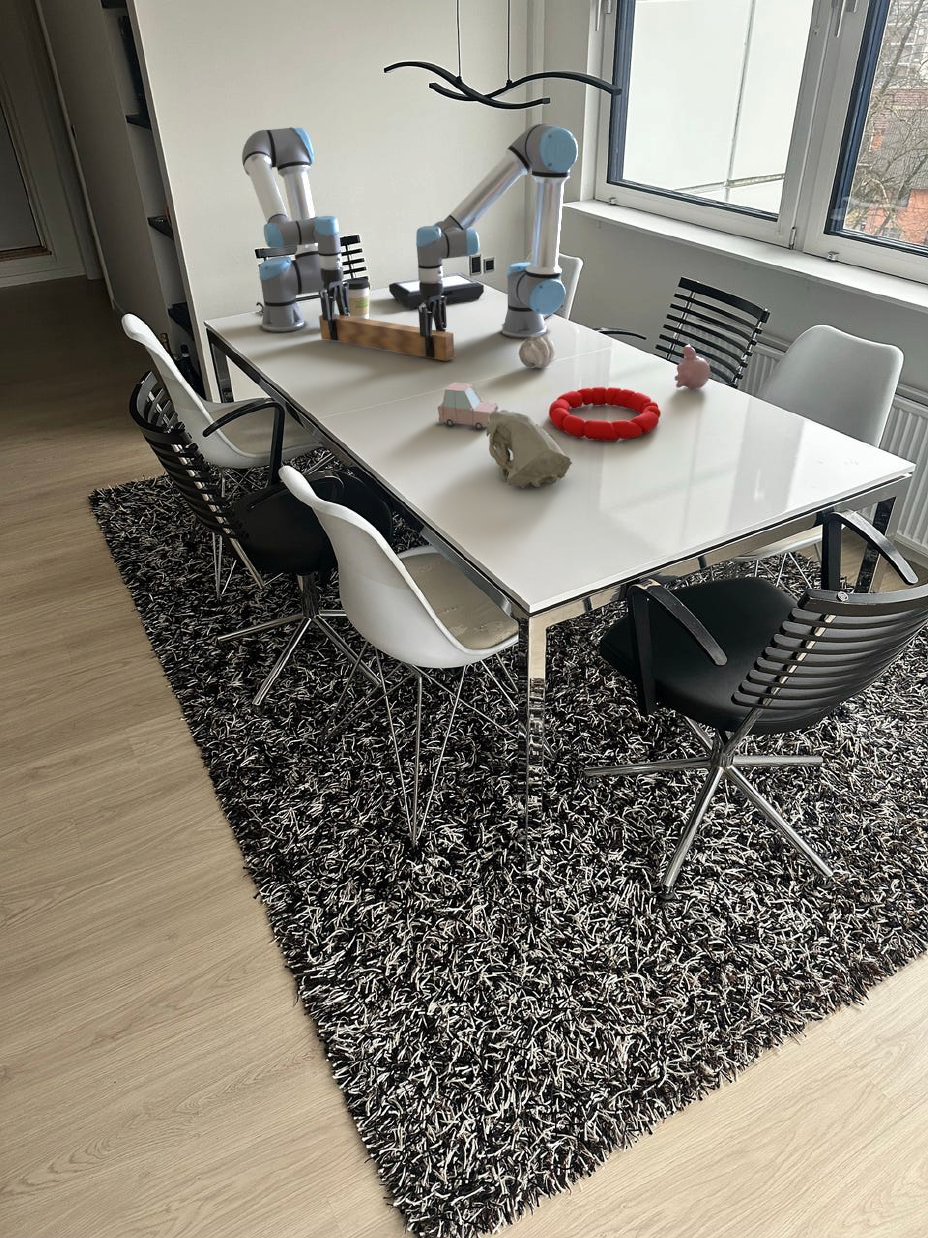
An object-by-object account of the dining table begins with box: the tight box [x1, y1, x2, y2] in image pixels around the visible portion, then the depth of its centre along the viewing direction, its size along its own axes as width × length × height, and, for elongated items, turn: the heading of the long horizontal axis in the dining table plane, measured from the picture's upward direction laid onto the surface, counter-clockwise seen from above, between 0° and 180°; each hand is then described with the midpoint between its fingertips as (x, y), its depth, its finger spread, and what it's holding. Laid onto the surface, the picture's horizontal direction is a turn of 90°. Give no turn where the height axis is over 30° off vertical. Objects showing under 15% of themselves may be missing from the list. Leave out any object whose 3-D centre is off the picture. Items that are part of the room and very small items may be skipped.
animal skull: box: [485, 409, 573, 489], centre depth 216 cm, size 17×25×20 cm
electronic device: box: [388, 273, 485, 310], centre depth 349 cm, size 32×6×20 cm
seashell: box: [518, 335, 556, 369], centre depth 279 cm, size 10×15×10 cm
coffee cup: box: [343, 277, 371, 319], centre depth 323 cm, size 10×10×15 cm
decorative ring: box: [548, 386, 661, 442], centre depth 242 cm, size 7×30×30 cm
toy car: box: [437, 382, 499, 431], centre depth 243 cm, size 9×15×10 cm, turn 70°
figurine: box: [674, 344, 711, 390], centre depth 259 cm, size 9×11×12 cm
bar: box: [318, 313, 455, 362], centre depth 298 cm, size 52×5×8 cm, turn 58°
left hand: (339, 337), depth 309 cm, fingers closed on bar, 5 cm apart
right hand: (434, 354), depth 291 cm, fingers closed on bar, 5 cm apart
